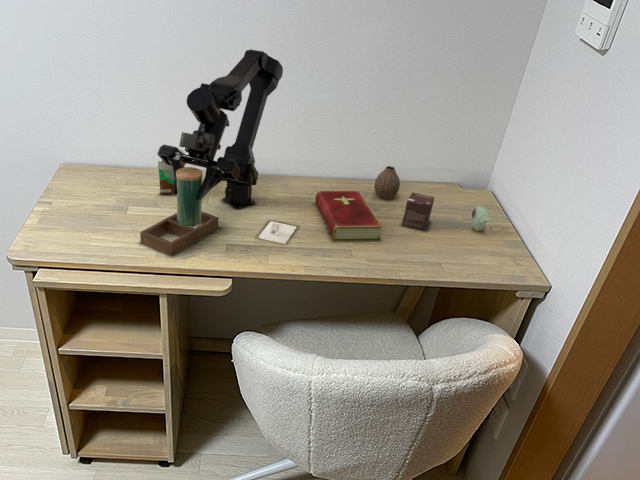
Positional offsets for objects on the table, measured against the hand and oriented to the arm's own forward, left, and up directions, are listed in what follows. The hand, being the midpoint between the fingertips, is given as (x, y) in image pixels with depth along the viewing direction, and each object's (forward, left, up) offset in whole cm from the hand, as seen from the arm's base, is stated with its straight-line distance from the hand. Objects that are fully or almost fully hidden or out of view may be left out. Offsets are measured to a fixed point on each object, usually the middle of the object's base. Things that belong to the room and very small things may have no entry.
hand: (186, 197), depth 137 cm
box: (-58, +21, -14) cm, 63 cm away
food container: (-16, -30, -14) cm, 37 cm away
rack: (-3, -6, -13) cm, 15 cm away
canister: (-1, -1, -7) cm, 7 cm away
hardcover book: (-43, +10, -14) cm, 46 cm away
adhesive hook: (-24, +5, -14) cm, 28 cm away
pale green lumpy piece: (-69, +32, -14) cm, 77 cm away
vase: (-64, +5, -14) cm, 66 cm away
